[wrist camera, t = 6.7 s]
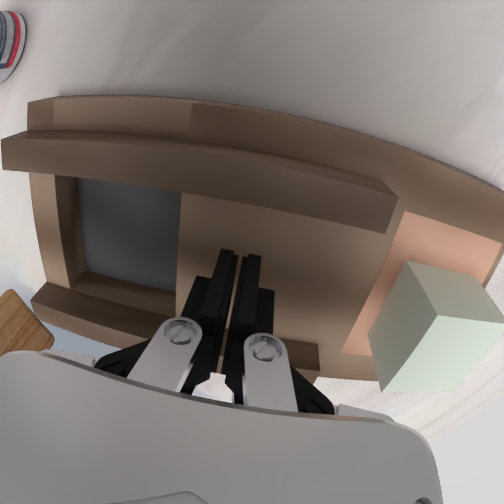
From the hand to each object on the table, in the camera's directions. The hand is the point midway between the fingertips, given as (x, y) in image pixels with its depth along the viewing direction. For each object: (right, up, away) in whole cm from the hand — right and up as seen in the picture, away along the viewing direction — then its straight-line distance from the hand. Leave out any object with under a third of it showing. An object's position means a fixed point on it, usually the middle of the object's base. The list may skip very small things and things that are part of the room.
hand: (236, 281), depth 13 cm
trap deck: (+1, +2, +4) cm, 4 cm away
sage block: (+10, -2, +2) cm, 10 cm away
